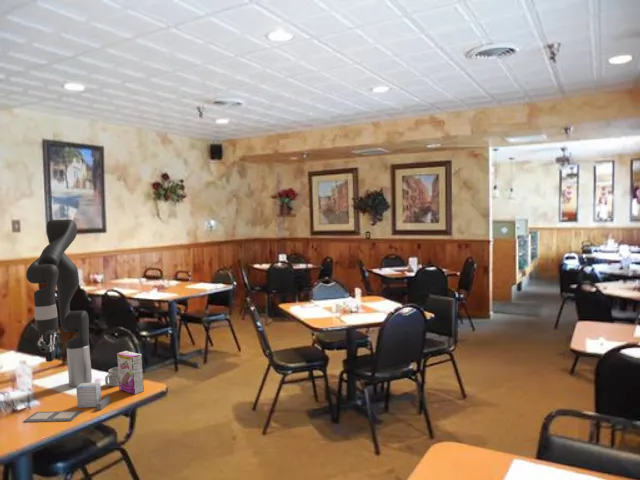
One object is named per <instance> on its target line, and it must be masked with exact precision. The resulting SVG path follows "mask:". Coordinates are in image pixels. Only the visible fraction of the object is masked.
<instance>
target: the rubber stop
mask: <svg viewBox="0 0 640 480" xmlns="http://www.w3.org/2000/svg"><path fill="white" fill-rule="evenodd" d="M110 403H111V396H110V395H105V397H103V398H102V400H101V401H100V402H99V403H97V407H96V409H97V411H103V410H104V408H106V407H107V406H108V405H109V404H110Z"/></svg>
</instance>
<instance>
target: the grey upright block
mask: <svg viewBox="0 0 640 480" xmlns="http://www.w3.org/2000/svg"><path fill="white" fill-rule="evenodd" d="M101 386H102V385H101V382H91V383H81V384H80V385H79V386H77V387H75V389H76V401H77V403H76V404H77V408H78V409H81V408H97V403H99V402H100V401H101V400H102V399H103V398H102V387H101Z"/></svg>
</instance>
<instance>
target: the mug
mask: <svg viewBox="0 0 640 480" xmlns="http://www.w3.org/2000/svg"><path fill="white" fill-rule="evenodd" d="M107 370H108V371H107V372H108V374H106V376H105V377H104V383H105V387H119V376H118V366H115V367H111V368H110V369H107Z"/></svg>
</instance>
